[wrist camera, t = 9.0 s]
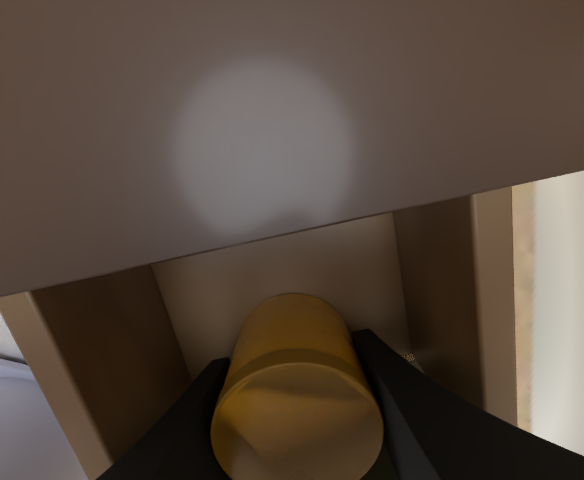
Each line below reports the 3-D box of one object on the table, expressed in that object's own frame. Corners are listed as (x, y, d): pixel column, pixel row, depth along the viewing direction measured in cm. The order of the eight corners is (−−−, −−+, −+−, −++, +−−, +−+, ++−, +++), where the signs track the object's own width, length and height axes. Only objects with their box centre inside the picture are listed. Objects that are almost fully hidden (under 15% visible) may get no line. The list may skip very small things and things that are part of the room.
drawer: (445, 455, 14) (548, 641, 8) (219, 496, 14) (177, 699, 9) (406, 86, 10) (556, -18, 4) (90, 160, 10) (-137, 151, 5)
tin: (328, 403, 12) (349, 517, 8) (224, 376, 11) (192, 483, 8) (367, 309, 11) (412, 389, 7) (254, 277, 10) (235, 341, 6)
